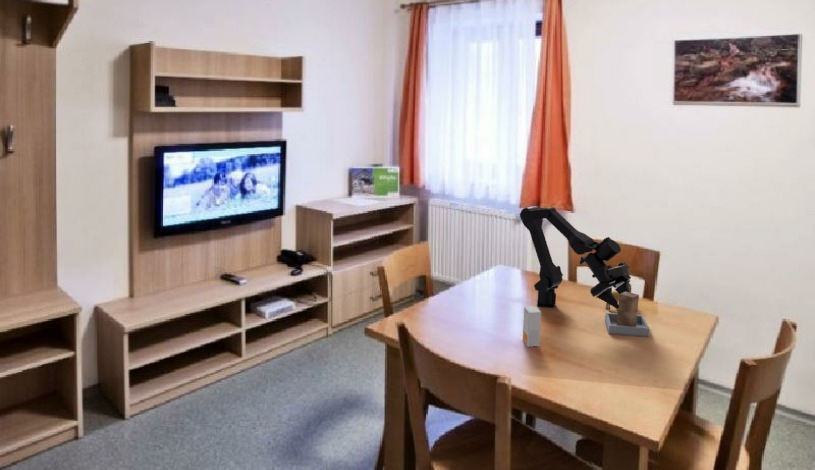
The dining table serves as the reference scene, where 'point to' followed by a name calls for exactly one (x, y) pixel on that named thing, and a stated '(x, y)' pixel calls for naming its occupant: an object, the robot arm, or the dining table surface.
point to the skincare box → (531, 326)
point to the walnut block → (627, 309)
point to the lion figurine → (616, 297)
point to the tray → (613, 328)
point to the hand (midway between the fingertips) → (624, 305)
